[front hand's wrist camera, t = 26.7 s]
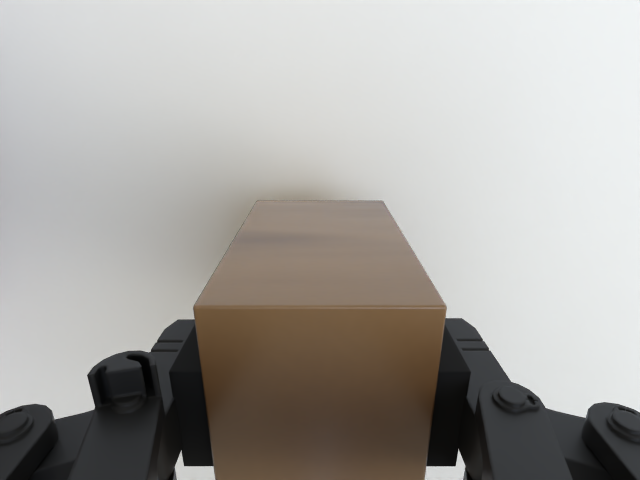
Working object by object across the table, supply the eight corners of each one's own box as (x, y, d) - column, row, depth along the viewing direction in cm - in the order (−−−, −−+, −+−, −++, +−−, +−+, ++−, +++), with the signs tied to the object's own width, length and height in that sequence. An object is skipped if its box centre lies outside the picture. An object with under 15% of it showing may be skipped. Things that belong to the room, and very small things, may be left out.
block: (375, 328, 17) (420, 515, 9) (264, 328, 17) (219, 515, 9) (383, 200, 15) (448, 306, 7) (256, 200, 15) (191, 306, 7)
